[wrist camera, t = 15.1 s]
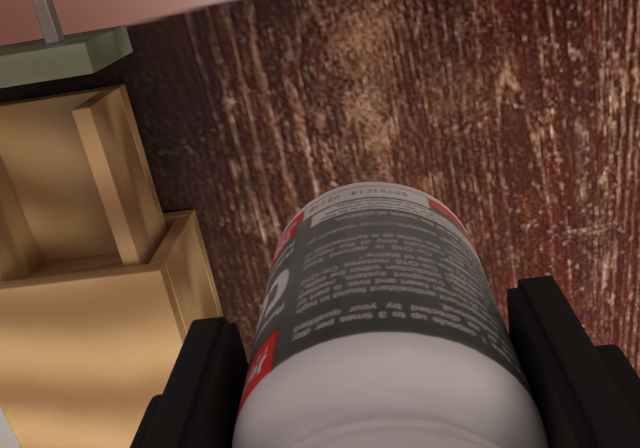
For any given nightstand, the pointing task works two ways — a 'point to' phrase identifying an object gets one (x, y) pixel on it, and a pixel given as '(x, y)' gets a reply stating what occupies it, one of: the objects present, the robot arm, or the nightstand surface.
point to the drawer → (72, 161)
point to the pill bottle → (382, 334)
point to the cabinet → (100, 342)
